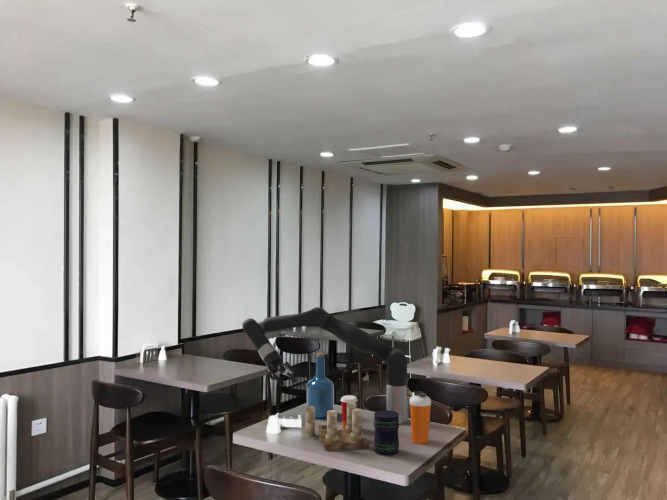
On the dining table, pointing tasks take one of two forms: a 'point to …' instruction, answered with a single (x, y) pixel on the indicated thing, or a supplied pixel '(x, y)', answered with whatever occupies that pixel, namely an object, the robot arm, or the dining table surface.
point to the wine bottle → (320, 390)
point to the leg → (310, 421)
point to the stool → (343, 431)
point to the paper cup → (344, 402)
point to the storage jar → (386, 432)
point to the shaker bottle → (420, 417)
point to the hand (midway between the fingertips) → (289, 383)
